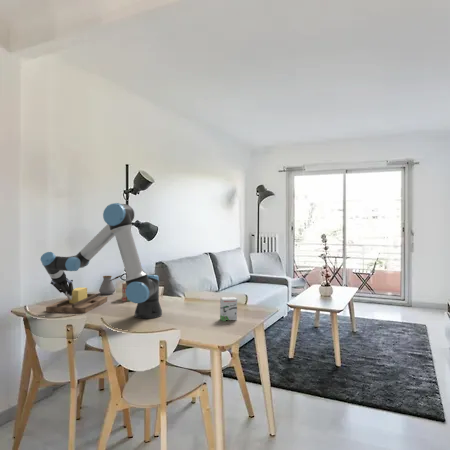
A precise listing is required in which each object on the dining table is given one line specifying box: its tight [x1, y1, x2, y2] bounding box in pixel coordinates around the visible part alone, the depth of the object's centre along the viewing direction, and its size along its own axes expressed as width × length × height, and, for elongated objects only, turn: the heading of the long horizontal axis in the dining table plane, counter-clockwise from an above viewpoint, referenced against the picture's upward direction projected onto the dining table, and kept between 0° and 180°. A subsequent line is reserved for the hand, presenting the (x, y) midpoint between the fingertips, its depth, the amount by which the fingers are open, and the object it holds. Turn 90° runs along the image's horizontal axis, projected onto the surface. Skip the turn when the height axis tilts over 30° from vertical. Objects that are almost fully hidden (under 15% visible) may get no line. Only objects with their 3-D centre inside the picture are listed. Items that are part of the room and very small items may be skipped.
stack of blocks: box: [121, 281, 131, 302], centre depth 265 cm, size 21×6×12 cm, turn 171°
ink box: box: [219, 296, 238, 322], centre depth 208 cm, size 9×5×12 cm, turn 103°
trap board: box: [45, 293, 108, 314], centre depth 239 cm, size 24×32×5 cm
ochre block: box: [69, 287, 88, 303], centre depth 239 cm, size 6×10×8 cm, turn 169°
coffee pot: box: [98, 274, 124, 296], centre depth 278 cm, size 21×12×15 cm, turn 58°
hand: (70, 298), depth 233 cm, fingers closed
